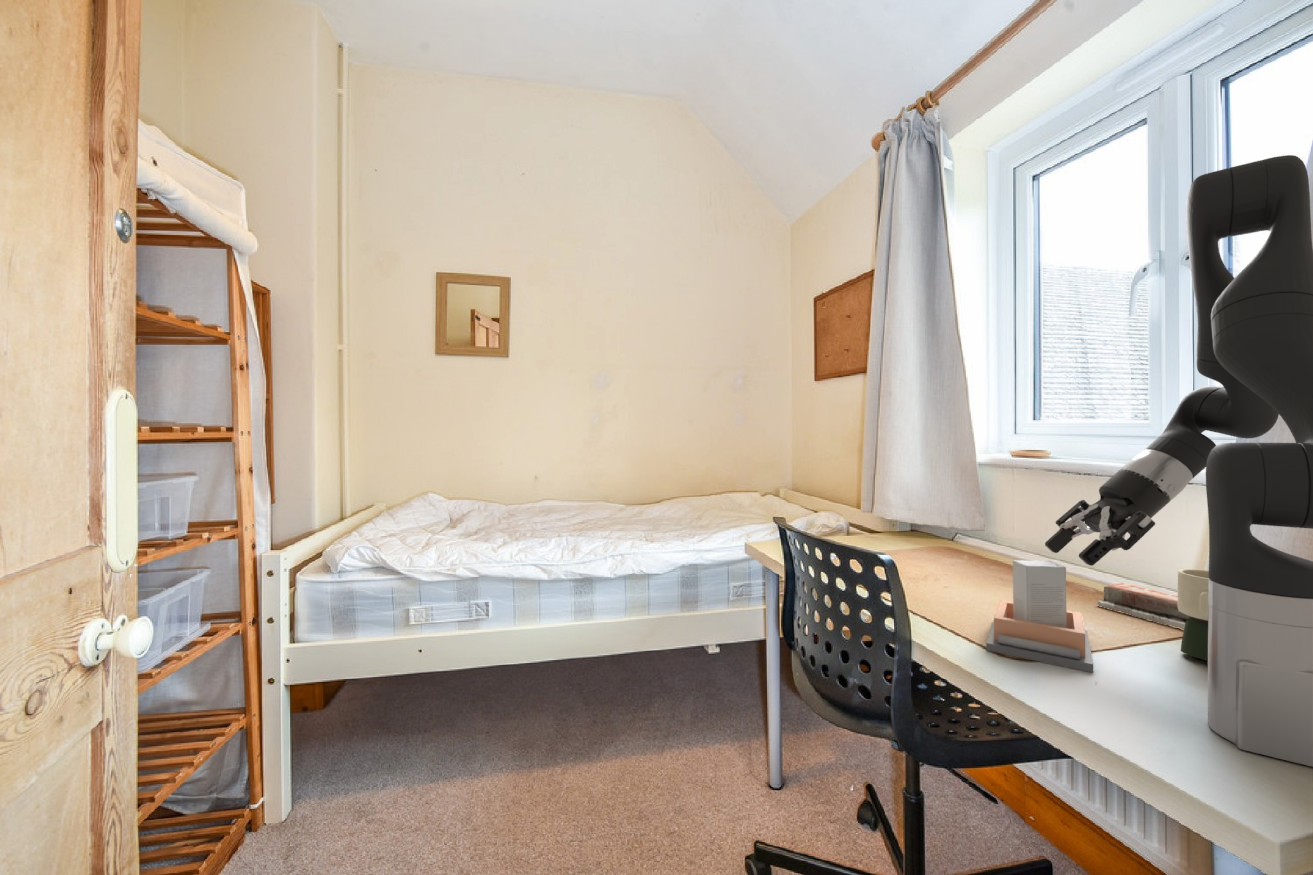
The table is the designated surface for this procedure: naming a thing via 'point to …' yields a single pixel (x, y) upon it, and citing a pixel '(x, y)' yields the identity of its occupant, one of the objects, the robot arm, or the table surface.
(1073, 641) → the open rectangular holder tray
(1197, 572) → the character mug
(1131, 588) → the packaged product
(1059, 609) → the skincare box
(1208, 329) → the robot arm
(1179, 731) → the table surface
